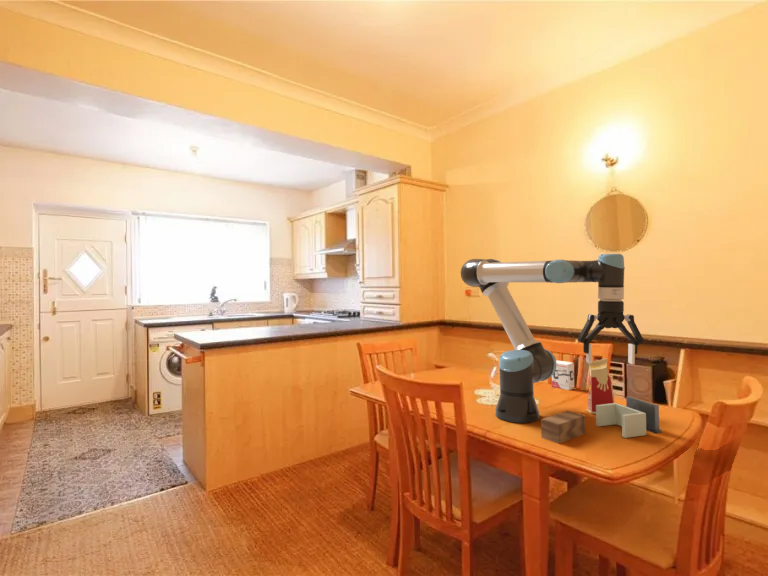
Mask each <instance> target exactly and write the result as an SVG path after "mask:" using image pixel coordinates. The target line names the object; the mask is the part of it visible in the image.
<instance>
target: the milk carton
mask: <svg viewBox="0 0 768 576" xmlns="http://www.w3.org/2000/svg"><path fill="white" fill-rule="evenodd" d="M607 361H608V358H602V359H598V360H592V364H589V363H587V362H586V361H585V362H586V363H587V365H588V367H589V369H590V370H589V379H588V380H589V381H588V394H587V395H588V396H587V398H588V399H587V408H586V410H587V412H589V413H590V414H594V415H596V405H601V404H610V403H615V395H614V387H613V381H612V379H611V376H610V373H609V369H608V367H607V366H608V362H607Z"/></svg>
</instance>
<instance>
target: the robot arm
mask: <svg viewBox="0 0 768 576" xmlns="http://www.w3.org/2000/svg"><path fill="white" fill-rule="evenodd" d="M625 267H626V266H625V257H624V255H623V254H621V253H602V254H599V255H598V258H597V259H595V260H570V259H569V260H568V259H567V260H565V259H555V260H554V259H553V260H533V261H532V260H531V261H528V260H527V261H501V260H498V259H492V258H488V259H484V258H483V259H482V258H472V259H469V260H467V261H466V262H464V263H463V265H462V266H461V269H460V278H461V280H462V282H463V283H464V284H466V285H467V286H469V287H473V288H479V290H480V291H481V293H482V295H483V296H486V297H487V298H488V299H489V301H490V303H491V305H492V307H493V309H494V311H495V313H496V315H497V317H498V318H499V321H500V323H501V325H502V327H503V329H504V332H506V334H507V337H508V339H509V340H510V343H511V345H512V346H513V350H507V351H504V352H503V353H501V355H500V357H499V363H498V366H499V367H498V368H499V390H500V391H499V393H500V394H499V397H498V401H497V403H496V406H495V417H497V418H498V419H500V420H503V421H505V422H510V423H517V424H518V423H519V424H525V423H533V422H537V421H538V420H540V411H539V407H538V405H537V402H536V398H535V395H534V392H535V391H534V384H537V383H539V382H545V380H548V379H549V378H552V375H553V374H554V373H555V370H556V366H557V364H556V361H557V359H556V357H555V355H554V353H553V352H551V351H550V350H549V349H546V348H545V347H544V346H543V343H542V342H541V341H539V340H536V339H535V337H534V336H533V334H532V332H531V329H530V328H529V326H528V324H527V322H526V320H525V318H524V316H523V315H522V312H521V310H520V309H519V307H518V306H517V303H516V301H515V300H514V297H513V296H512V294H511V292H510V290H509V289H508V286H509V283H550V284H552V283H554V284H555V283H556V284H564V283H567V284H568V283H598V285H597V287H598V289H597V299H598V302H597V314H592V313H589V314H588V315H587V321H586V322H585V324H584V326H583V328H582V330H581V331H580V334H579V335H578V337H577V341H578V342H580V343H583V349H582V350H583V354H585V362H587V364H588V363H589V364H592V361H593V360H592V359H593V358H592V357H593V345H592V341H593V340H594V339H595V338H596V336H597V335H598V334H599V333H600V332H601V331H602V330H604V329H618V330H619V331H620V333H622V335H624V337H625V338H627V340H628V341H629V342H630V343H627V345H628V346H627V347H628V348H627V353H628V354H627V355H628V356H627V363H628V364H629V365H632V366H633V365H636V364H635V362H636V359H635V355H638V346H639V345H640V344H643V343H644V342H645V340H644V337H643V335H642V334H641V332H640V330H639V328H638V326H637V324H636V322H635V316H634V315H633V314H628V313H627V314H626V315H624V312H625V311H624V310H625V308H624V307H625V305H624V303H625V302H624V299H625V297H624V294H625V293H624V292H625V269H626V268H625ZM622 300H623V301H622ZM596 320H597V324H596V325H595V327H594V328H593V329H592V330H591V328H592V327H593V325H594V322H596ZM624 321H626V322H627V325H628V327H629V329H630V330H631V332H630V331H629V330H628V329H627V327H626V326H625V325H624V323H623V322H624Z"/></svg>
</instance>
